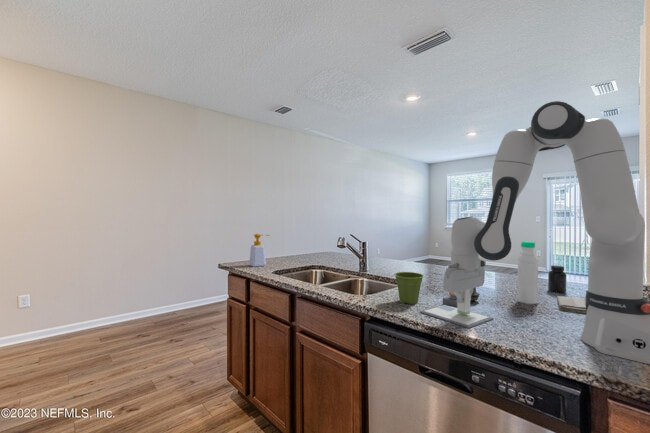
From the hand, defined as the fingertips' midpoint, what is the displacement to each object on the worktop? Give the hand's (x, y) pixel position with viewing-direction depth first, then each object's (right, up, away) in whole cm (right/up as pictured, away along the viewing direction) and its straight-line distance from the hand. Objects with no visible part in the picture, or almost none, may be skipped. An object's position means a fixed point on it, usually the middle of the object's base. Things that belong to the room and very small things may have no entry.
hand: (464, 301), depth 108 cm
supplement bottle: (+60, -5, +36) cm, 70 cm away
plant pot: (-14, -5, +18) cm, 24 cm away
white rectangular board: (-2, -5, +1) cm, 6 cm away
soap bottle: (-94, -4, +106) cm, 142 cm away
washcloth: (+49, -6, +12) cm, 51 cm away
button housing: (+2, -5, +14) cm, 15 cm away
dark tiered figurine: (+11, -6, +18) cm, 22 cm away
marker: (0, -4, 0) cm, 4 cm away
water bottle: (+34, -6, +18) cm, 39 cm away
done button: (+2, -4, +14) cm, 15 cm away
